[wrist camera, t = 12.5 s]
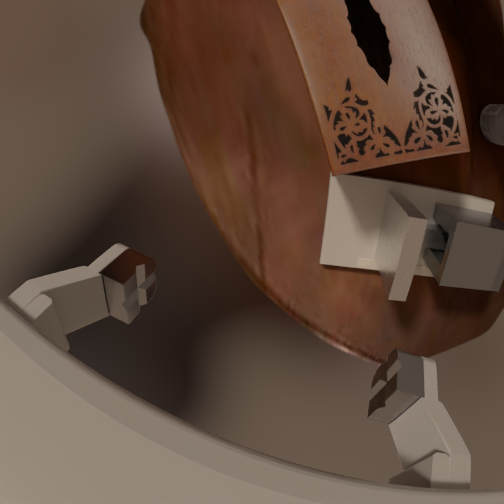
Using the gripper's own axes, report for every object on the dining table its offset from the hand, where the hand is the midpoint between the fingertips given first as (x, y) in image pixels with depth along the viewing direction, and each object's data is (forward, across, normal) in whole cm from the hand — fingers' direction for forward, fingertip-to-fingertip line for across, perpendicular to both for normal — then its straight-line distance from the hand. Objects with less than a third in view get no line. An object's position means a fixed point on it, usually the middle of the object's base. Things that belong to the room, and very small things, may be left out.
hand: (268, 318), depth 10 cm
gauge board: (+31, -12, +8) cm, 35 cm away
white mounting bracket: (+30, -14, +9) cm, 34 cm away
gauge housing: (+31, -19, +7) cm, 37 cm away
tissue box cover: (+33, +1, -11) cm, 35 cm away
